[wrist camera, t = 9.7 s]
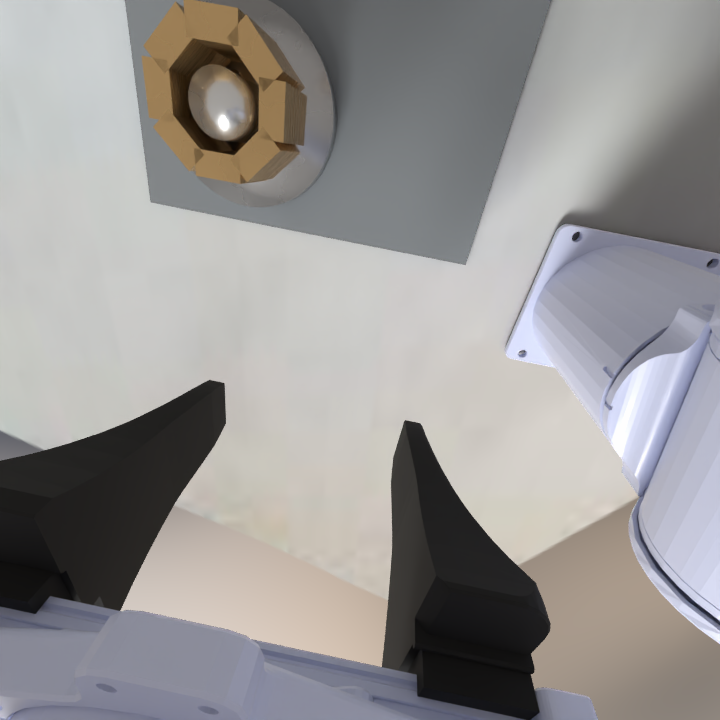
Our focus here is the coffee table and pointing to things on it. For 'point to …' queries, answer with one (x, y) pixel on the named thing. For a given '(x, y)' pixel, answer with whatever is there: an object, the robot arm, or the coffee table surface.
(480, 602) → the robot arm
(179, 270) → the coffee table surface
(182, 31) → the ring
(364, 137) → the bench mat
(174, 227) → the coffee table surface
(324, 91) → the metal peg stand
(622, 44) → the coffee table surface
